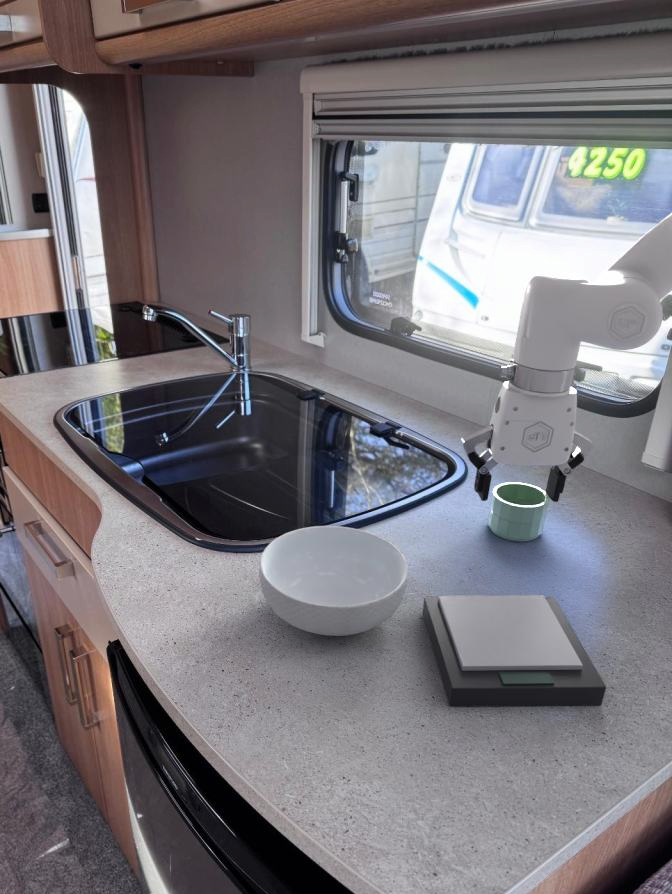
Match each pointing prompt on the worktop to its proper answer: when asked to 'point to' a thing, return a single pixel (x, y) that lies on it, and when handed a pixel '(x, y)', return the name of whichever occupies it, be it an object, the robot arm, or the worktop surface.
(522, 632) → the scale
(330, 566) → the cereal bowl
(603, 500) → the worktop surface
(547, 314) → the robot arm
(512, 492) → the small cup
